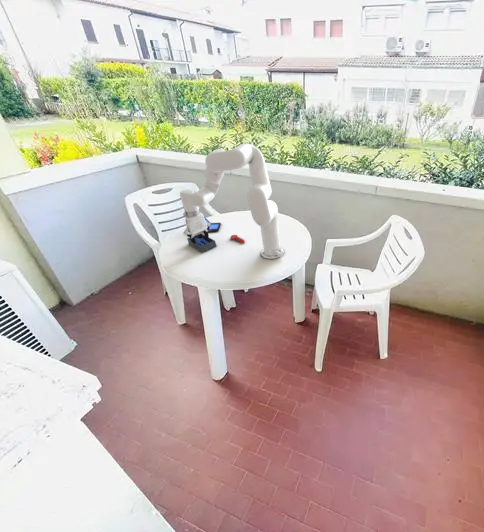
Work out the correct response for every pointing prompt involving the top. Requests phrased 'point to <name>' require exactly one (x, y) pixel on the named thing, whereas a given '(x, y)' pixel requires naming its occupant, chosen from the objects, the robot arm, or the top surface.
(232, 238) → the red spoon
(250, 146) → the robot arm
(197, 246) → the bin
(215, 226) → the handheld console
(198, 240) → the blue spoon
